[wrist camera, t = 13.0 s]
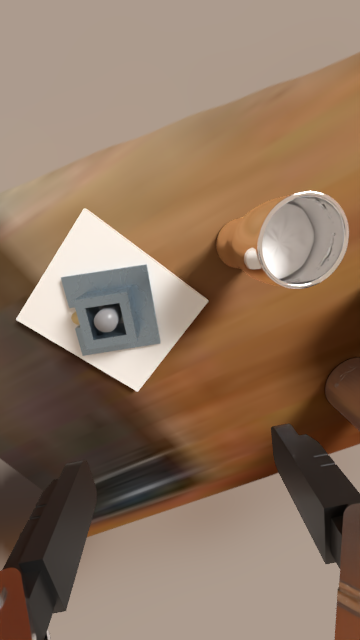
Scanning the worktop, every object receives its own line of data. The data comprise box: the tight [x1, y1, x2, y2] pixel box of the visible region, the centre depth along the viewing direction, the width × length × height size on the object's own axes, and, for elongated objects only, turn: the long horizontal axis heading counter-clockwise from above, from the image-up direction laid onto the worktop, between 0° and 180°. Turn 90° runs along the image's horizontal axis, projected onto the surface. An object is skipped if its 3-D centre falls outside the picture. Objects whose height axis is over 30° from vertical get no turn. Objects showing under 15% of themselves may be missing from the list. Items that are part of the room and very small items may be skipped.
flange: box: [61, 264, 161, 356], centre depth 29 cm, size 10×10×5 cm
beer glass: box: [216, 191, 349, 289], centre depth 25 cm, size 7×7×15 cm
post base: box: [16, 208, 208, 392], centre depth 30 cm, size 18×16×6 cm
